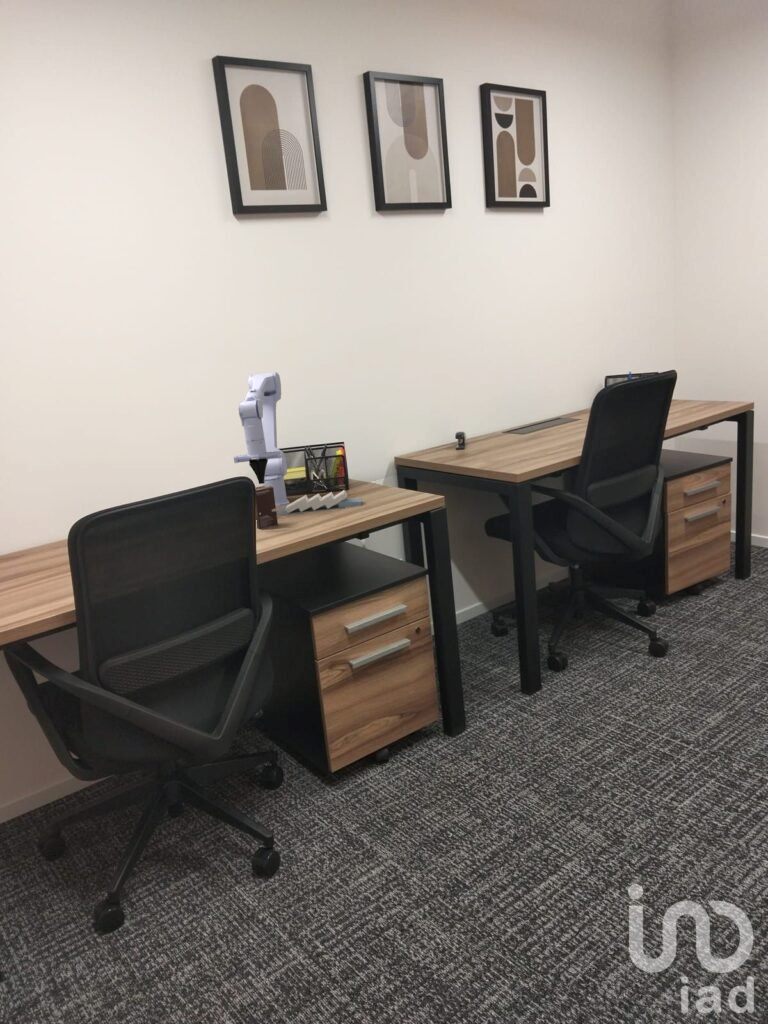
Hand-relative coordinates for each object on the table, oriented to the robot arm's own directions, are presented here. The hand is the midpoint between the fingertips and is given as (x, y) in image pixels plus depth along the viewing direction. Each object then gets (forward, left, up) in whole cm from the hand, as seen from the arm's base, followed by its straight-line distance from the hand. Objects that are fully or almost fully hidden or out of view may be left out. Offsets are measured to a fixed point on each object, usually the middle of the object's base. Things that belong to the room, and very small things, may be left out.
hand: (261, 483), depth 228 cm
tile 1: (+2, +7, -9) cm, 11 cm away
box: (+15, -2, -11) cm, 19 cm away
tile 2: (+3, +11, -9) cm, 14 cm away
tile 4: (+5, +19, -9) cm, 21 cm away
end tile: (+6, +22, -9) cm, 25 cm away
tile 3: (+4, +14, -9) cm, 17 cm away
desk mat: (0, +15, -10) cm, 18 cm away
